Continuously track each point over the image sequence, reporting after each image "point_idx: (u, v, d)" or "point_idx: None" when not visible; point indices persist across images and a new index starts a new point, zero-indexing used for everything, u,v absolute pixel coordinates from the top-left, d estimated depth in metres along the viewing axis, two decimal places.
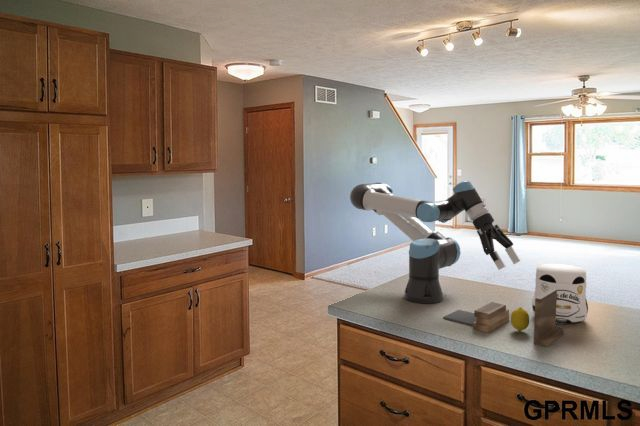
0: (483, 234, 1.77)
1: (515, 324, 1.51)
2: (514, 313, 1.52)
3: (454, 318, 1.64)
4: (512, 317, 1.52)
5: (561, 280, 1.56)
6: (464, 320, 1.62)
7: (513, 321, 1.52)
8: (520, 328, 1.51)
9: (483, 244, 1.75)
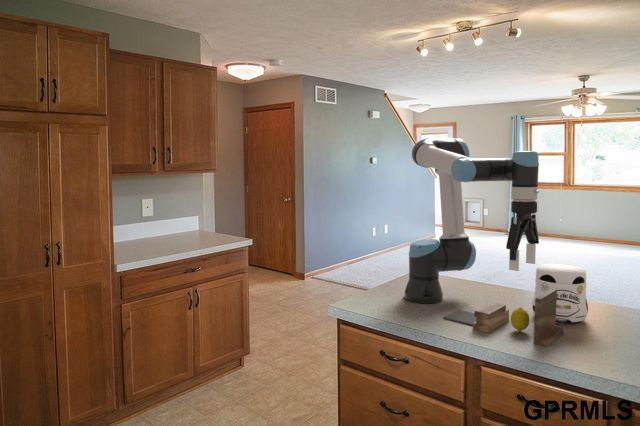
0: (516, 226, 1.44)
1: (515, 324, 1.51)
2: (514, 313, 1.52)
3: (454, 318, 1.64)
4: (512, 317, 1.52)
5: (561, 280, 1.56)
6: (464, 320, 1.62)
7: (513, 321, 1.52)
8: (520, 328, 1.51)
9: (510, 237, 1.44)
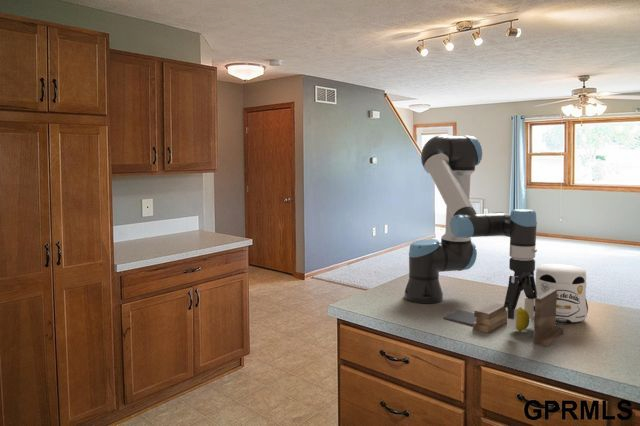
0: (514, 285, 1.45)
1: None
2: None
3: (454, 318, 1.64)
4: None
5: (561, 280, 1.56)
6: (464, 320, 1.62)
7: None
8: (520, 328, 1.51)
9: (508, 296, 1.45)
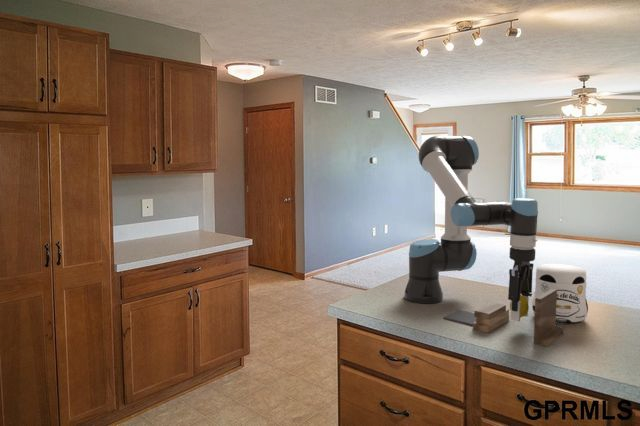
0: (515, 278, 1.46)
1: None
2: None
3: (454, 318, 1.64)
4: None
5: (561, 280, 1.56)
6: (464, 320, 1.62)
7: None
8: None
9: (510, 290, 1.48)
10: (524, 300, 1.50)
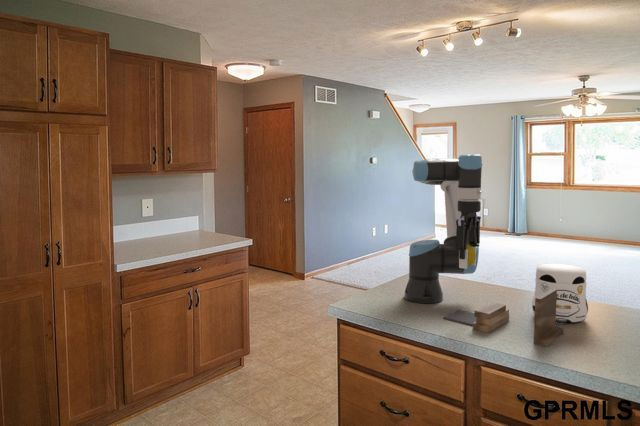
0: (461, 228, 1.58)
1: None
2: None
3: (454, 318, 1.64)
4: None
5: (561, 280, 1.56)
6: (464, 320, 1.62)
7: None
8: (467, 263, 1.62)
9: (457, 238, 1.59)
10: (471, 249, 1.62)
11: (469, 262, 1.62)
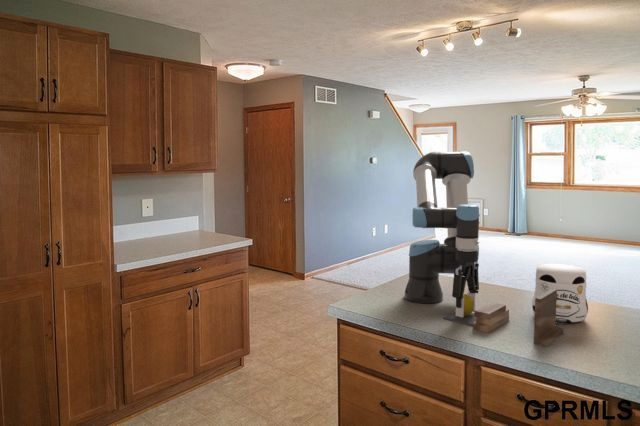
0: (458, 277, 1.59)
1: None
2: None
3: (454, 318, 1.64)
4: None
5: (561, 280, 1.56)
6: (464, 320, 1.62)
7: None
8: (464, 313, 1.64)
9: (454, 287, 1.60)
10: (469, 299, 1.64)
11: (467, 312, 1.64)
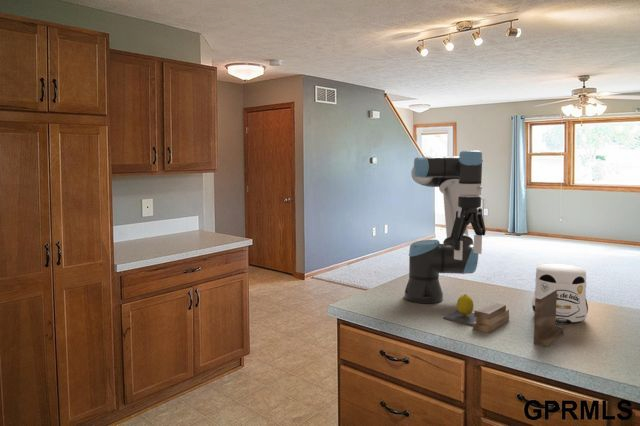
0: (460, 219, 1.58)
1: (460, 310, 1.64)
2: (459, 299, 1.65)
3: (454, 318, 1.64)
4: (458, 303, 1.65)
5: (561, 280, 1.56)
6: (464, 320, 1.62)
7: (458, 307, 1.65)
8: (464, 313, 1.64)
9: (454, 229, 1.58)
10: (469, 299, 1.64)
11: (467, 312, 1.64)
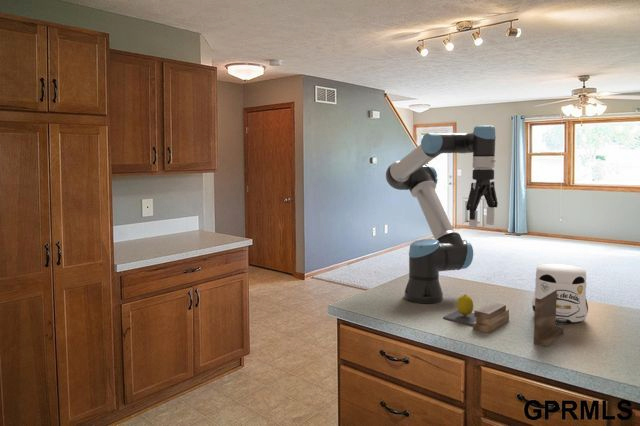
0: (475, 190, 1.68)
1: (460, 310, 1.64)
2: (459, 299, 1.65)
3: (454, 318, 1.64)
4: (457, 303, 1.65)
5: (561, 280, 1.56)
6: (464, 320, 1.62)
7: (458, 307, 1.65)
8: (464, 313, 1.64)
9: (469, 199, 1.68)
10: (469, 299, 1.64)
11: (467, 312, 1.64)
